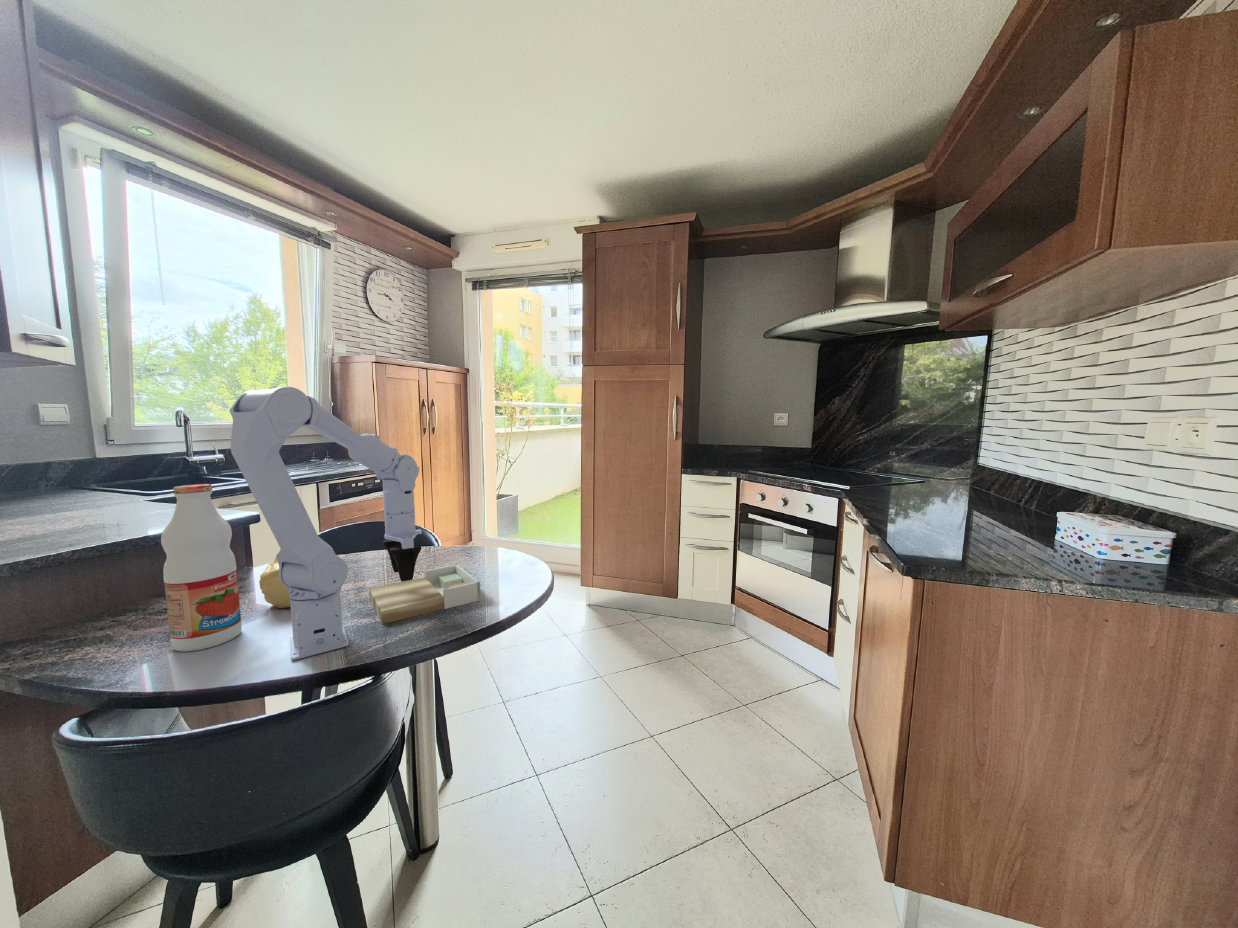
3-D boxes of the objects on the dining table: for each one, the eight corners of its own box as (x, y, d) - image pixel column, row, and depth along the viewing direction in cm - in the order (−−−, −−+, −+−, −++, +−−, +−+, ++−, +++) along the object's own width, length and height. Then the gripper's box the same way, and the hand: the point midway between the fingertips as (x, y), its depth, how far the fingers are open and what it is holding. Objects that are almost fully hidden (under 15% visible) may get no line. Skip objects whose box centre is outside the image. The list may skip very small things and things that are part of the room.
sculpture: (270, 598, 100) (265, 551, 99) (332, 589, 105) (329, 544, 104) (253, 617, 90) (248, 565, 89) (324, 606, 95) (320, 556, 94)
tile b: (444, 582, 101) (444, 590, 101) (462, 578, 103) (462, 586, 104) (438, 576, 105) (438, 584, 105) (455, 572, 107) (456, 581, 108)
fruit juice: (199, 630, 84) (184, 483, 82) (254, 626, 86) (241, 481, 83) (155, 655, 75) (137, 490, 73) (217, 650, 76) (201, 487, 74)
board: (444, 608, 92) (443, 596, 92) (381, 624, 85) (381, 611, 85) (425, 587, 105) (424, 577, 105) (369, 599, 98) (369, 588, 98)
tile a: (455, 592, 94) (455, 601, 95) (473, 587, 97) (474, 596, 97) (448, 586, 98) (448, 594, 99) (466, 581, 101) (466, 590, 101)
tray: (480, 600, 96) (479, 581, 96) (444, 609, 92) (443, 590, 91) (457, 580, 109) (456, 564, 109) (425, 587, 105) (424, 570, 105)
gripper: (428, 514, 90) (431, 580, 91) (412, 505, 102) (415, 564, 102) (389, 518, 86) (393, 587, 87) (377, 509, 97) (381, 570, 98)
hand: (403, 575), depth 94 cm, fingers open, 7 cm apart
